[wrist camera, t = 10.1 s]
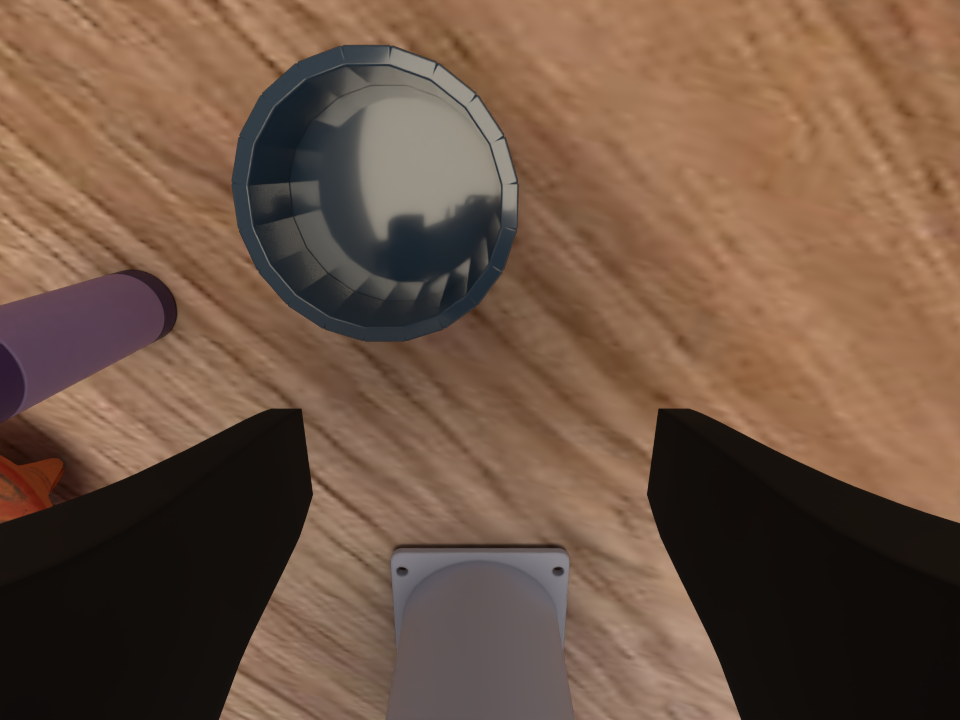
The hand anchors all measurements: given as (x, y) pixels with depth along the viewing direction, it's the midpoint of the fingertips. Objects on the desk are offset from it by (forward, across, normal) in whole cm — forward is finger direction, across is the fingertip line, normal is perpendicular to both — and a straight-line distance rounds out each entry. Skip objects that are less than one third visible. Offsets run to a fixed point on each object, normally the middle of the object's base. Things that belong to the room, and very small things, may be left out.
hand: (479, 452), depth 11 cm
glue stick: (+10, +13, 0) cm, 17 cm away
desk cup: (+10, +3, -4) cm, 12 cm away
